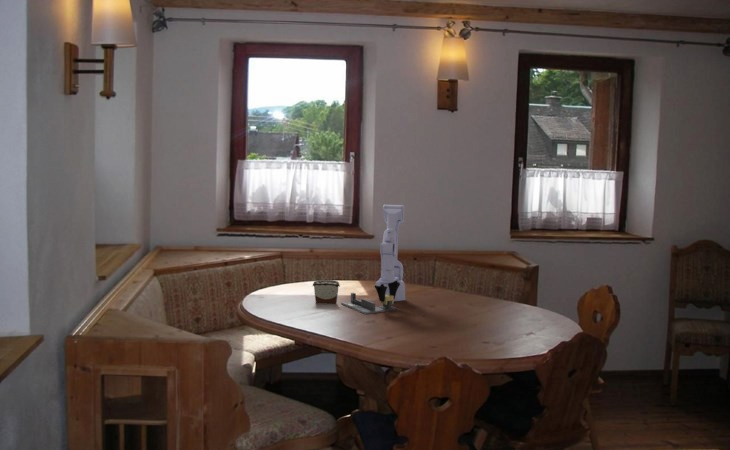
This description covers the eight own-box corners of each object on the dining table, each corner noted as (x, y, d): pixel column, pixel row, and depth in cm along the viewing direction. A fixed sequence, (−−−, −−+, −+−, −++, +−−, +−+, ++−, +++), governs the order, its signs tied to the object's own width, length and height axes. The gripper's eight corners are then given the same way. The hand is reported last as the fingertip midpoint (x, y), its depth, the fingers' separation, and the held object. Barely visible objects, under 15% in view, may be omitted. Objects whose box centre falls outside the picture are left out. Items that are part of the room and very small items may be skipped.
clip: (380, 302, 340) (380, 295, 340) (388, 301, 342) (388, 294, 342) (385, 304, 337) (385, 296, 337) (393, 303, 339) (393, 295, 339)
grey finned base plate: (388, 306, 345) (388, 297, 344) (397, 309, 339) (397, 300, 338) (377, 307, 341) (377, 299, 341) (385, 311, 335) (385, 302, 335)
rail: (360, 302, 353) (360, 291, 352) (385, 311, 335) (385, 300, 334) (341, 304, 347) (341, 293, 347) (365, 314, 330) (365, 302, 329)
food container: (341, 301, 353) (341, 280, 352) (339, 304, 347) (339, 282, 346) (314, 300, 354) (314, 279, 353) (312, 303, 348) (312, 281, 347)
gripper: (390, 266, 346) (389, 296, 348) (370, 270, 335) (369, 301, 336) (403, 268, 342) (402, 298, 343) (383, 272, 330) (382, 303, 332)
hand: (387, 299), depth 339 cm, fingers open, 7 cm apart
